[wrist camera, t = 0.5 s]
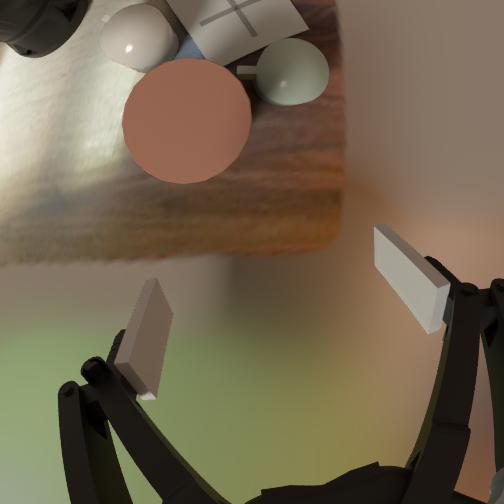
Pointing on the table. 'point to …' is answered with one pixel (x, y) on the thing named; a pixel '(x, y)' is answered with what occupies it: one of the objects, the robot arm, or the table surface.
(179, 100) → the coffee jar
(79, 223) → the table surface
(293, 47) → the mug sage
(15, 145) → the table surface
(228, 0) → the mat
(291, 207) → the table surface
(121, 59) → the mug cream
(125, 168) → the table surface
